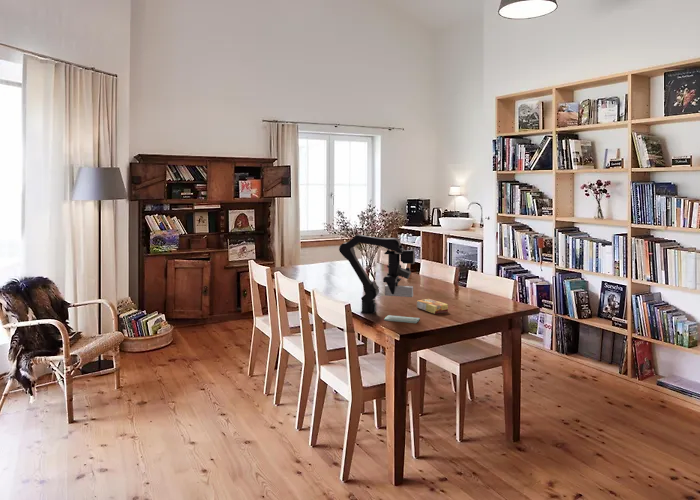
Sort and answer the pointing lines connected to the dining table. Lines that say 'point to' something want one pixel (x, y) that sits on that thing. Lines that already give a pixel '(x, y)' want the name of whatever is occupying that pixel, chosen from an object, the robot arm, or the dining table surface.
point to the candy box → (432, 306)
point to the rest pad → (402, 319)
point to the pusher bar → (400, 291)
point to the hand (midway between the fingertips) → (393, 293)
